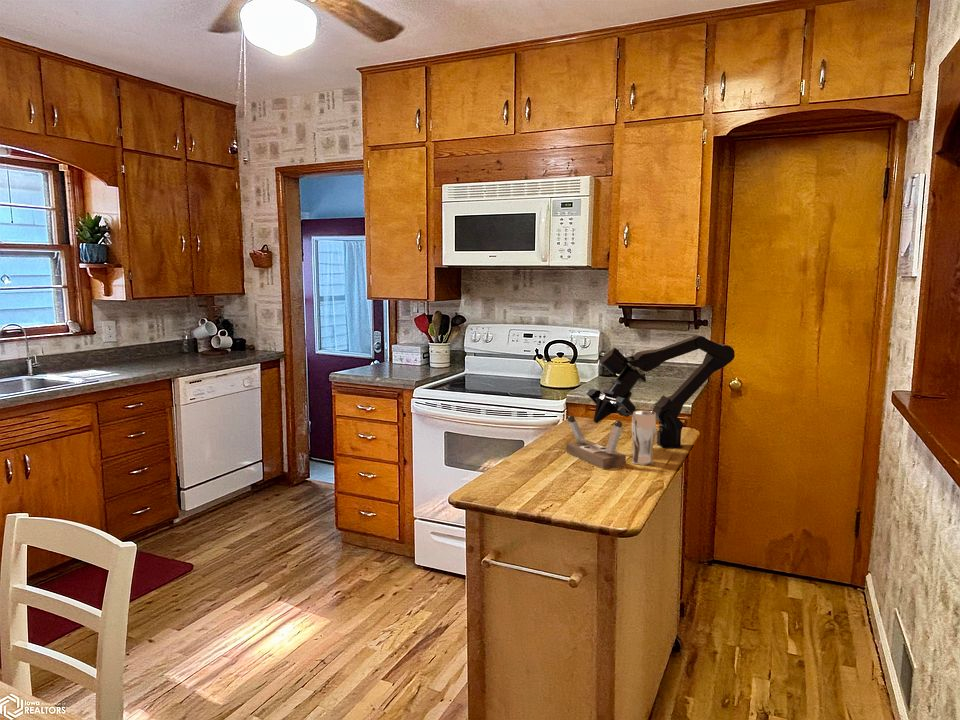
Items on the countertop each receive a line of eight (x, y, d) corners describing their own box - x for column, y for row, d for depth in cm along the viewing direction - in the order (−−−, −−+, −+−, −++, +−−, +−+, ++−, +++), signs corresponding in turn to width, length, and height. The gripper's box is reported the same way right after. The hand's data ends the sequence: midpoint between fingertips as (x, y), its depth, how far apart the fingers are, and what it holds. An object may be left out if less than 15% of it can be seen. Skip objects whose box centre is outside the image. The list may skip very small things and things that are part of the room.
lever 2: (609, 452, 191) (619, 420, 191) (615, 454, 189) (625, 422, 189) (603, 451, 190) (613, 418, 190) (609, 453, 188) (619, 420, 188)
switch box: (587, 449, 206) (587, 438, 206) (625, 465, 189) (625, 453, 189) (566, 452, 203) (566, 441, 202) (603, 469, 186) (603, 457, 185)
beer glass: (652, 459, 196) (654, 410, 194) (656, 466, 189) (658, 415, 187) (629, 458, 196) (630, 409, 194) (632, 465, 189) (633, 414, 187)
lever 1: (581, 438, 203) (570, 413, 200) (586, 440, 201) (574, 414, 198) (576, 442, 203) (564, 416, 199) (581, 444, 200) (569, 418, 197)
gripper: (657, 405, 201) (628, 444, 198) (619, 395, 218) (592, 431, 215) (637, 382, 197) (607, 422, 194) (600, 373, 213) (572, 410, 210)
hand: (595, 422), depth 203 cm, fingers closed
